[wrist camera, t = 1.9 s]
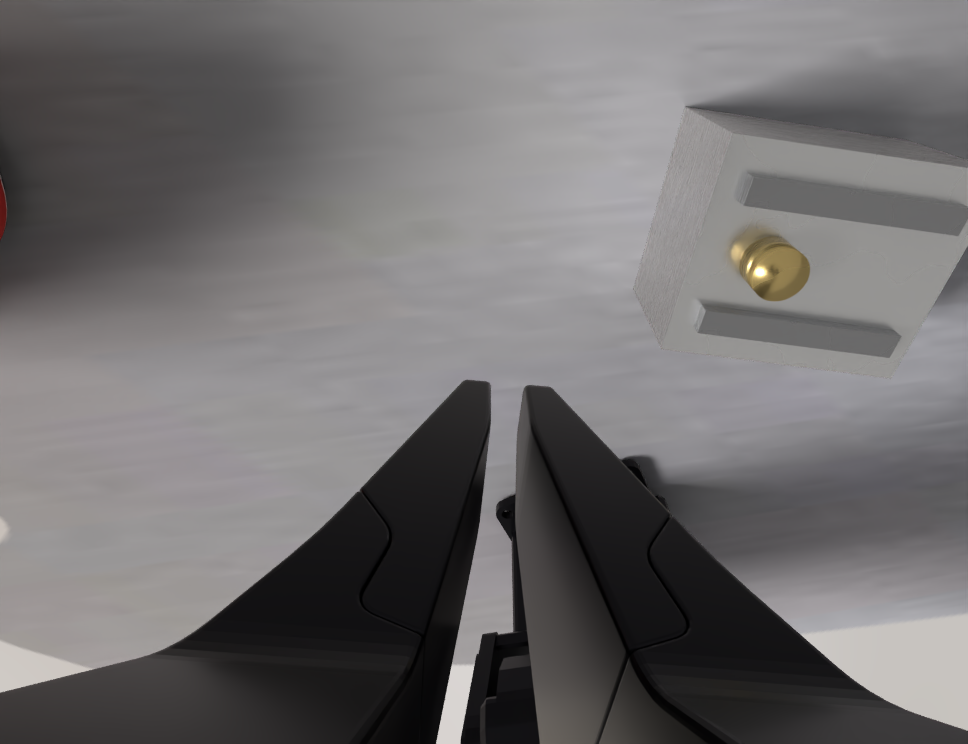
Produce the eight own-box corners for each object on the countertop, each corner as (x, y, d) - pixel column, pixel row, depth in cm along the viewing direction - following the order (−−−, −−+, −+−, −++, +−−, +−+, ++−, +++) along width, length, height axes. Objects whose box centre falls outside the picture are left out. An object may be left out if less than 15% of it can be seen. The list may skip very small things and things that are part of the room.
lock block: (632, 287, 21) (669, 366, 17) (683, 105, 18) (747, 141, 14) (821, 312, 22) (910, 397, 17) (904, 138, 19) (1040, 184, 14)
